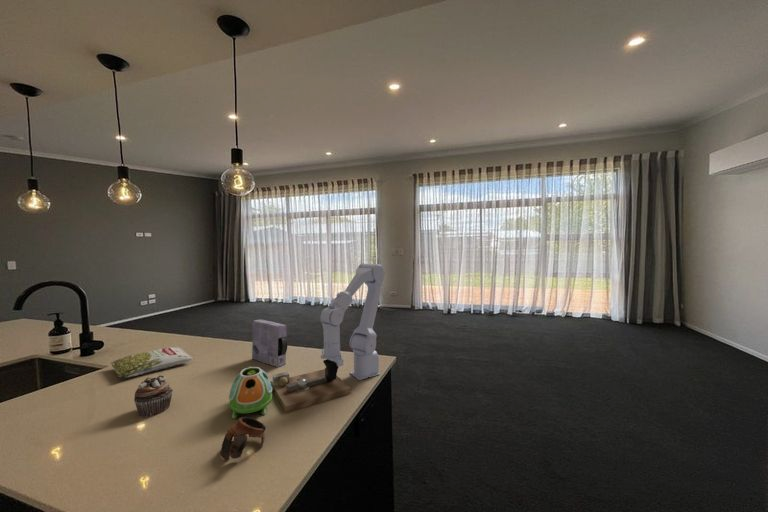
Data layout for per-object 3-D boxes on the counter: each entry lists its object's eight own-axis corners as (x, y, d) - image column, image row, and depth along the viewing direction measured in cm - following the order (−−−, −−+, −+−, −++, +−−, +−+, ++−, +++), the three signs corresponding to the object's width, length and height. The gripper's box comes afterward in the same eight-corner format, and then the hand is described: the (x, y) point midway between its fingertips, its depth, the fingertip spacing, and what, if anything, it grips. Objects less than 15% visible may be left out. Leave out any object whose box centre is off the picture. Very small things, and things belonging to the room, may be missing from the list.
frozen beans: (109, 355, 126) (179, 341, 145) (110, 369, 126) (179, 352, 145) (118, 370, 112) (194, 352, 131) (119, 385, 113) (194, 365, 132)
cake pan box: (288, 364, 130) (288, 324, 129) (279, 368, 126) (278, 326, 125) (261, 356, 140) (260, 318, 140) (251, 359, 136) (250, 321, 135)
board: (328, 373, 120) (328, 360, 120) (350, 393, 103) (350, 378, 103) (271, 387, 108) (270, 373, 108) (285, 412, 91) (285, 396, 91)
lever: (331, 377, 111) (331, 365, 111) (335, 380, 108) (335, 369, 108) (286, 389, 102) (285, 376, 102) (289, 393, 99) (288, 380, 99)
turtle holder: (271, 388, 107) (270, 355, 106) (273, 415, 90) (272, 376, 90) (232, 395, 102) (231, 360, 102) (227, 425, 85) (225, 384, 85)
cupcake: (130, 421, 88) (129, 388, 87) (139, 406, 96) (138, 375, 96) (170, 413, 92) (169, 381, 92) (175, 399, 101) (174, 369, 100)
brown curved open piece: (222, 444, 78) (238, 411, 81) (256, 456, 79) (272, 424, 82) (208, 463, 67) (228, 424, 69) (248, 478, 68) (266, 439, 70)
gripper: (313, 338, 110) (314, 375, 111) (329, 349, 98) (330, 390, 98) (331, 335, 114) (332, 370, 114) (348, 345, 102) (349, 385, 102)
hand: (332, 379), depth 107 cm, fingers closed
